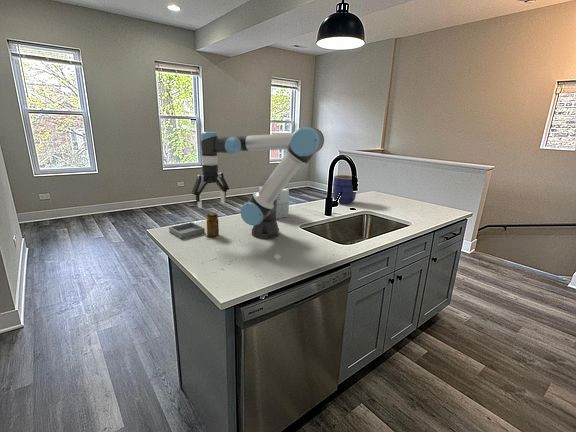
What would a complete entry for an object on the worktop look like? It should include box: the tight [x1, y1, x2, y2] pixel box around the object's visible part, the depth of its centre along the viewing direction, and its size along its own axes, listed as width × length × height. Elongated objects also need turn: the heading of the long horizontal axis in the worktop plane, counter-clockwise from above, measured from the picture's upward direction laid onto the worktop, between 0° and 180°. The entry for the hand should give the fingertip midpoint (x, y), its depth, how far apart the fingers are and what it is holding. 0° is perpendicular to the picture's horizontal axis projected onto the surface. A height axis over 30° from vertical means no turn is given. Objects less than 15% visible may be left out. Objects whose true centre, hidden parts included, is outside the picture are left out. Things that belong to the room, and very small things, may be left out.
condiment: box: [204, 212, 223, 240], centre depth 157 cm, size 7×8×12 cm
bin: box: [168, 221, 206, 240], centre depth 161 cm, size 13×13×3 cm
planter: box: [332, 174, 359, 205], centre depth 233 cm, size 18×18×21 cm
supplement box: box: [258, 186, 290, 220], centre depth 196 cm, size 17×13×18 cm
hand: (211, 205), depth 154 cm, fingers open, 13 cm apart
